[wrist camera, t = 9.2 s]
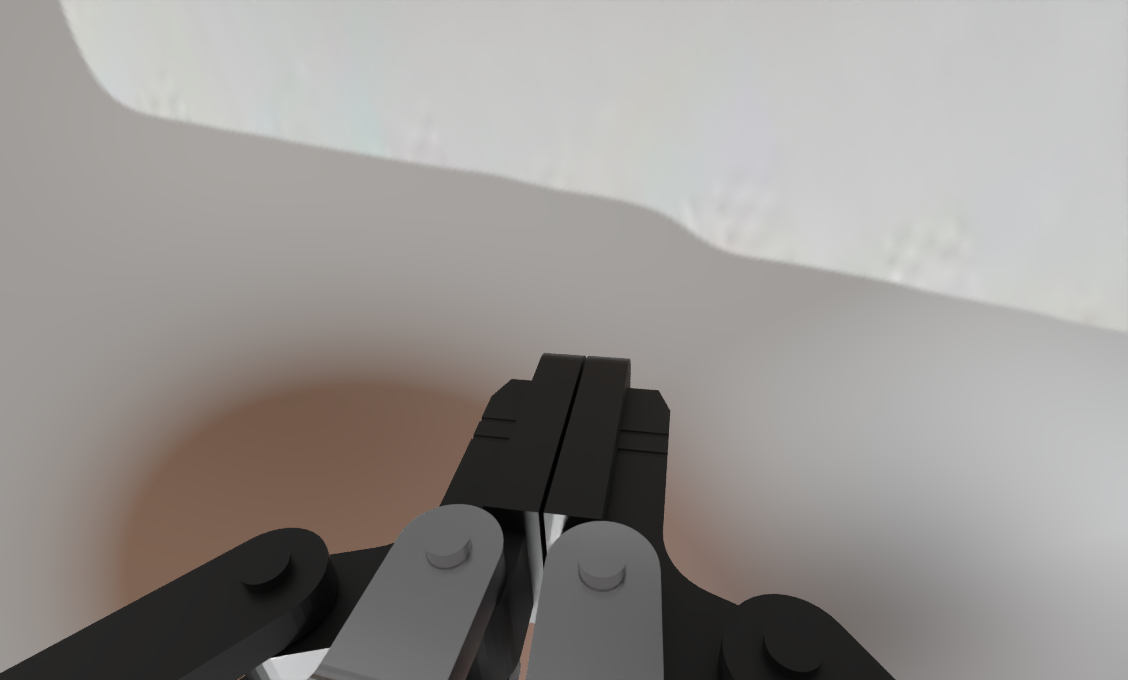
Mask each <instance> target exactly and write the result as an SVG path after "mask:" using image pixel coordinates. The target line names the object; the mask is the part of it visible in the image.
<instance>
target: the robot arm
mask: <svg viewBox="0 0 1128 680" xmlns="http://www.w3.org/2000/svg"><path fill="white" fill-rule="evenodd" d="M630 375H631V363H630V359H625V358H611V357H597V356H588V357H587V359H586V356H578V355H566V354H551V353H544V354H543V355H542V357H541V359H540V361H539V364H538V366H537V369H536V372H535V374H534V377H533V379H532V381H530V380H516V379H511V380H510V381H509V382H508V383H507V384H505V385H504V386H503V387H502V388H501V389H500V390H498V391H497V392H496V393H495V394H494V395H493V396H492V397H491V399H490V401H489V403H488V405H487V407H486V409H485V412H484V414H483V416H482V421H480V422H479V424H478V426H477V428H476V431H475V433H474V437H473V439H471V441H470V443H469V445H468V448H467V450H466V452H465V454H464V456H463V458H462V460H461V462H460V464H459V467H458V468H457V471H456V473H455V475H454V477H453V479H452V481H451V484H450V485H449V488H448V490H447V492H446V494H445V496H444V498H443V500H442V502H441V504H440V506H439V507H437V508H434V509H432V510H429V511H427V512H425V513H423V514H421V515H420V516H418V517H417V518H415V519H414V520H413V521H411V522H410V523H409V524H408V525H407V526H406V527H405V528H404V529H403V531H402V532H401V534H400V535H399V536H398V538H397V540H396V541H395V543H392V544H389V545H386V546H381V547H376V548H370V549H364V550H357V551H351V552H344V553H339V554H332V555H329V552H328V549H327V547H326V545H325V543H324V541H323V540H322V539H321V538H320V536H318V535H317V534H315V533H314V532H311V531H309V530H306V529H301V528H284V529H278V530H273V531H269V532H267V533H264V534H261V535H259V536H256V537H254V538H252V539H250V540H249V541H246V542H245V543H243V544H241V545H239V546H237V547H235V548H233V549H232V550H230V551H228V552H226V553H224V554H222V555H220V556H218V557H217V558H215V559H213V560H211V561H209V562H207V563H205V564H204V565H202V566H200V567H198V568H196V569H194V570H192V571H190V572H189V573H187V574H185V575H183V576H181V577H179V578H178V579H176V580H174V581H172V582H170V583H168V584H166V585H165V586H162V587H161V588H159V589H157V590H155V591H153V592H151V593H149V594H148V595H146V596H144V597H142V598H140V599H138V600H136V601H134V602H133V603H131V604H129V605H127V606H125V607H123V608H121V609H119V610H118V611H116V612H114V613H112V614H110V615H108V616H106V617H105V618H103V619H101V620H99V621H97V622H95V623H93V624H91V625H90V626H88V627H86V628H84V629H82V630H80V631H78V632H77V633H75V634H73V635H71V636H69V637H67V638H65V639H63V640H62V641H60V642H58V643H56V644H54V645H52V646H50V647H48V648H47V649H45V650H43V651H41V652H39V653H37V654H35V655H34V656H32V657H30V658H28V659H26V660H24V661H22V662H21V663H19V664H17V665H15V666H13V667H11V668H9V669H7V670H6V671H4V672H2V673H0V680H237V679H239V678H241V677H242V676H243V675H246V676H244V677H243V678H241V679H240V680H518V679H519V675H520V667H521V663H520V656H521V653H522V649H523V645H524V641H525V637H526V633H527V629H528V625H529V622H531V623H535V626H534V633H533V638H532V645H531V650H530V656H529V663H528V669H527V675H526V680H895V679H894V678H893V677H892V676H891V675H890V674H889V673H888V672H887V671H886V670H885V669H884V668H883V667H882V666H881V665H880V664H879V663H878V662H877V661H876V660H875V659H874V658H873V657H872V656H871V655H870V654H869V653H868V652H867V651H866V650H865V649H864V648H863V647H862V646H861V645H860V644H859V643H858V642H857V641H856V640H855V639H854V638H853V637H852V636H851V635H850V634H849V633H848V632H847V631H846V630H845V629H844V628H843V627H842V626H841V625H840V624H839V623H838V622H837V621H836V620H835V619H834V618H833V617H832V616H830V615H829V614H828V613H826V612H825V611H823V610H822V609H820V608H819V607H817V606H815V605H813V604H811V603H809V602H807V601H805V600H802V599H799V598H796V597H792V596H788V595H780V594H767V595H760V596H756V597H753V598H751V599H748V600H746V601H744V602H743V603H741V604H740V605H736V604H734V603H732V602H730V601H727V600H725V599H723V598H721V597H718V596H716V595H714V594H711V593H709V592H707V591H705V590H703V589H701V588H699V587H698V586H696V585H695V584H693V583H692V582H691V581H689V580H688V579H687V578H686V577H684V576H683V575H682V574H681V573H680V572H679V571H678V569H676V567H675V566H674V564H673V563H672V561H671V560H670V558H669V556H668V554H667V552H666V549H665V546H664V541H663V521H664V504H665V488H666V470H667V455H668V438H669V421H670V410H669V408H668V406H667V404H666V403H665V401H664V399H663V397H662V396H661V394H660V392H659V391H658V390H647V389H634V388H630V377H631V376H630Z"/></svg>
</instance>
